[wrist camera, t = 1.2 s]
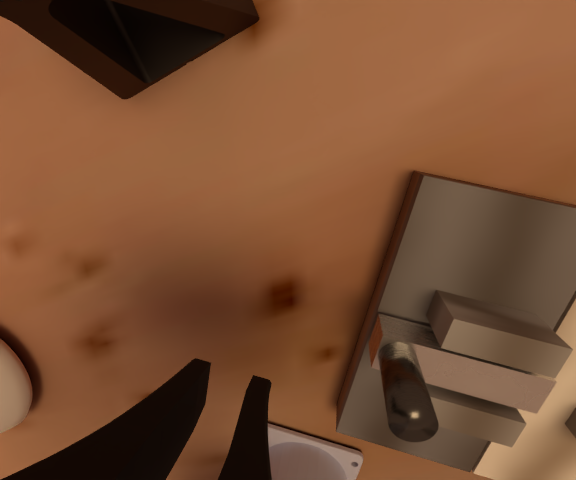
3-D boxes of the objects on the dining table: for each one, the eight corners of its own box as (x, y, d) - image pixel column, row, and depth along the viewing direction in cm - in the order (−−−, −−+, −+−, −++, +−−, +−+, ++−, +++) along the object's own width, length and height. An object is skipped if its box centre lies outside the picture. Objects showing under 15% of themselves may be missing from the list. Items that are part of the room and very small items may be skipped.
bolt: (368, 343, 18) (379, 434, 12) (378, 313, 17) (394, 396, 12) (515, 383, 17) (596, 500, 11) (532, 353, 16) (626, 463, 11)
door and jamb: (336, 403, 23) (334, 474, 18) (414, 170, 17) (441, 183, 12) (600, 481, 21) (675, 582, 16) (786, 250, 15) (987, 302, 10)
